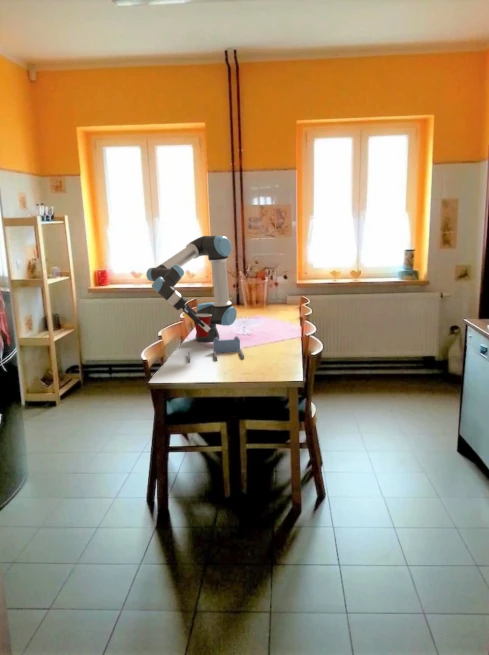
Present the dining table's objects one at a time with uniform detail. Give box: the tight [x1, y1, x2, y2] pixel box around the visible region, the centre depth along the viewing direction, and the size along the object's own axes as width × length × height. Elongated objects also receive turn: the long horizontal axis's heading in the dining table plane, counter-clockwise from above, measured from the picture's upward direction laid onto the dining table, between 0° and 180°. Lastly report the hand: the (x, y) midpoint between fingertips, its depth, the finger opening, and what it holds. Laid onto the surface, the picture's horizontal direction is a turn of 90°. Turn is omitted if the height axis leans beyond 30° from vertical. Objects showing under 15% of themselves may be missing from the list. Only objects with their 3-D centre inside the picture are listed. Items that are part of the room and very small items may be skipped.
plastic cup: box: [193, 314, 212, 337], centre depth 271 cm, size 11×11×12 cm
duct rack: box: [187, 335, 245, 363], centre depth 277 cm, size 18×30×9 cm, turn 97°
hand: (208, 328), depth 272 cm, fingers closed on plastic cup, 9 cm apart
